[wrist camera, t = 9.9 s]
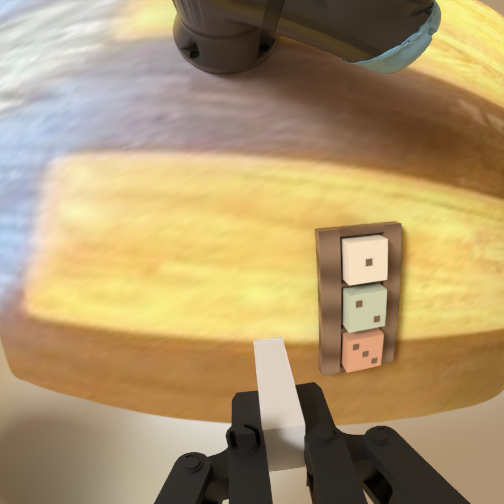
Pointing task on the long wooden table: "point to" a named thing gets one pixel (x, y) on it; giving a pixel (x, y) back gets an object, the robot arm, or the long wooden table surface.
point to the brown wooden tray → (334, 284)
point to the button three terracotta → (362, 349)
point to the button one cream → (364, 259)
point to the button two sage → (364, 307)
